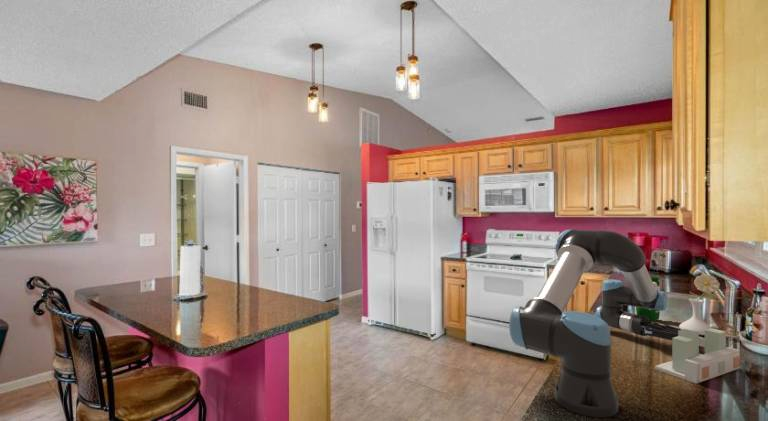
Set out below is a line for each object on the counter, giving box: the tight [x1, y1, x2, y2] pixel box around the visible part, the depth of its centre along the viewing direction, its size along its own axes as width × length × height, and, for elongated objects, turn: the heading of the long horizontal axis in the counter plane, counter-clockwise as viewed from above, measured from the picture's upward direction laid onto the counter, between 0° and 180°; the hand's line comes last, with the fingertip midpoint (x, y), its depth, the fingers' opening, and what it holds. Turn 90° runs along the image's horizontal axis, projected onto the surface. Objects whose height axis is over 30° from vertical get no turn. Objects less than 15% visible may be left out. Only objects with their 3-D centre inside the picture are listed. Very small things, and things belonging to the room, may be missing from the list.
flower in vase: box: [678, 273, 721, 336], centre depth 157 cm, size 13×11×25 cm
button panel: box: [654, 346, 741, 384], centre depth 123 cm, size 25×12×6 cm, turn 115°
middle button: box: [678, 329, 700, 357], centre depth 126 cm, size 4×4×10 cm
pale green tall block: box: [671, 336, 694, 373], centre depth 119 cm, size 4×4×10 cm
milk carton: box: [635, 275, 661, 323], centre depth 178 cm, size 9×9×20 cm
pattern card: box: [699, 352, 741, 383], centre depth 118 cm, size 22×1×5 cm, turn 115°
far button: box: [704, 327, 727, 354], centre depth 126 cm, size 4×4×10 cm
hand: (707, 343), depth 129 cm, fingers closed
